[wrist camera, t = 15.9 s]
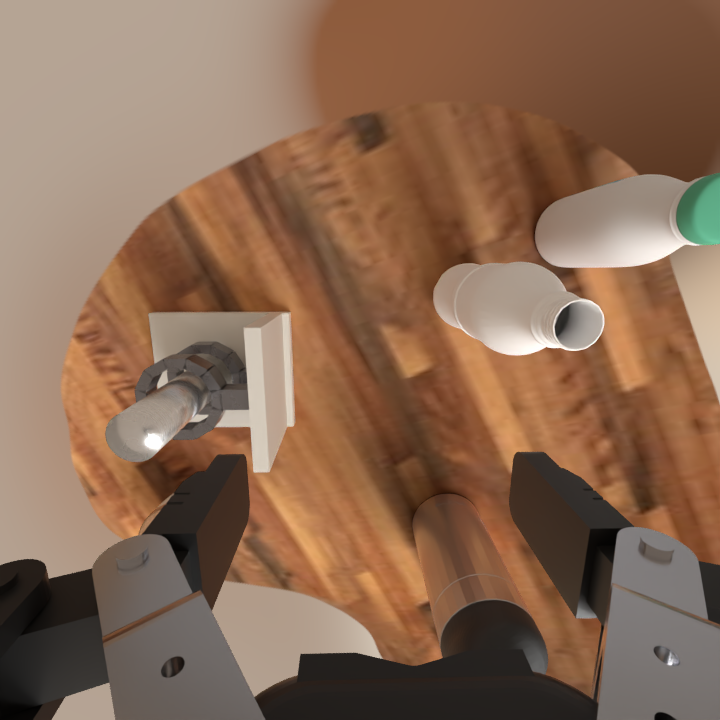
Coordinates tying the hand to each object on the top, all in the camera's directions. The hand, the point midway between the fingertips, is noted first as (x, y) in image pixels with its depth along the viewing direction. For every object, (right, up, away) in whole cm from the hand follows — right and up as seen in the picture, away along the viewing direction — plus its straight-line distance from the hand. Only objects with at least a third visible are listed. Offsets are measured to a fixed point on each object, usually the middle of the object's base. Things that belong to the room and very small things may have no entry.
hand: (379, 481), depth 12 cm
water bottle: (+11, +11, +35) cm, 38 cm away
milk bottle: (+23, +18, +34) cm, 45 cm away
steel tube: (-18, +2, +35) cm, 39 cm away
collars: (-16, +2, +33) cm, 37 cm away
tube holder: (-18, +2, +36) cm, 40 cm away
